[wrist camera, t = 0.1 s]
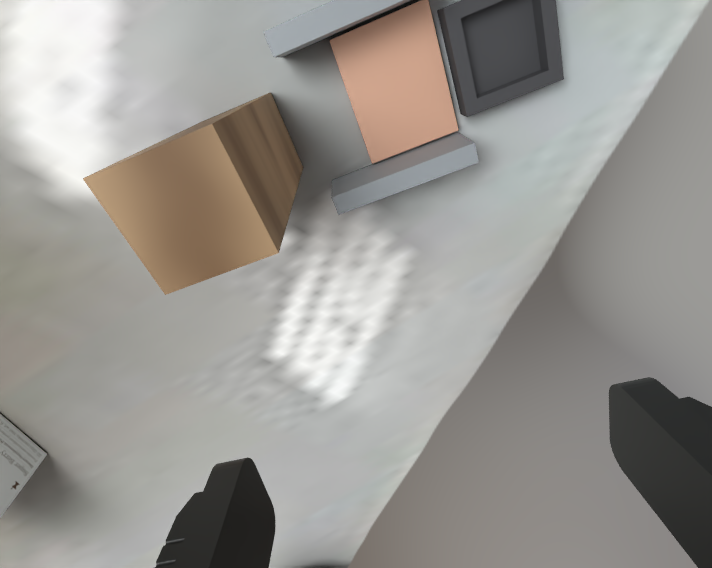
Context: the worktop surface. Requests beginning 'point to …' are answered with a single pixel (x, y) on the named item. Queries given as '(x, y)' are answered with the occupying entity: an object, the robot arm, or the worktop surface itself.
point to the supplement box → (15, 462)
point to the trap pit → (500, 49)
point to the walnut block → (205, 195)
